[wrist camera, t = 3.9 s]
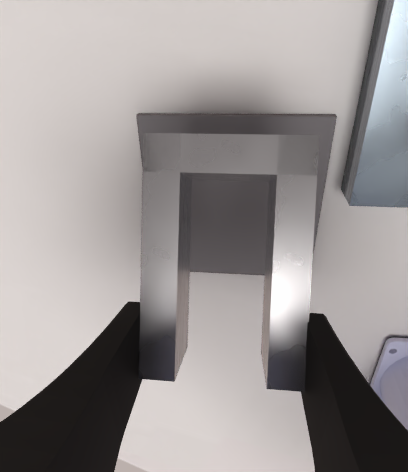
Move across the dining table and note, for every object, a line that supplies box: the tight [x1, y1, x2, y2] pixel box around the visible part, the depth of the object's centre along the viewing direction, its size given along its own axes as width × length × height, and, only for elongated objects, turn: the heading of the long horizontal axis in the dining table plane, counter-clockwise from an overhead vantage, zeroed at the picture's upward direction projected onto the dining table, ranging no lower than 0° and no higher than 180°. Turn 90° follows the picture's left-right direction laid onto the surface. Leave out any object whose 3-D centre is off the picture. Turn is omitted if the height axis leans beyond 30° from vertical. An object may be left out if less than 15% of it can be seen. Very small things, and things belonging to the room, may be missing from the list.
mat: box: [136, 114, 337, 275], centre depth 21 cm, size 10×10×1 cm
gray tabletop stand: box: [139, 133, 320, 392], centre depth 13 cm, size 8×5×3 cm
